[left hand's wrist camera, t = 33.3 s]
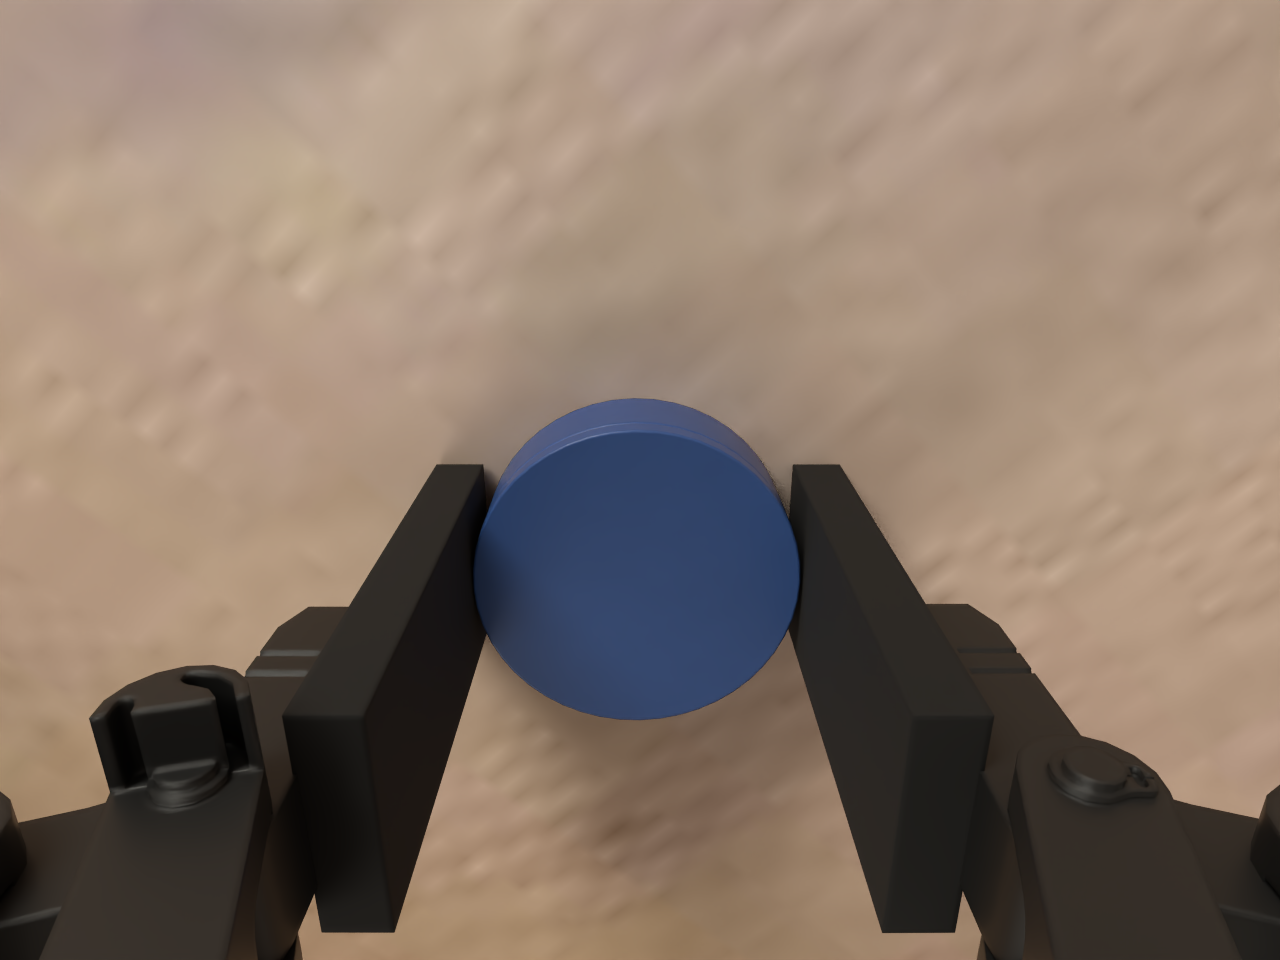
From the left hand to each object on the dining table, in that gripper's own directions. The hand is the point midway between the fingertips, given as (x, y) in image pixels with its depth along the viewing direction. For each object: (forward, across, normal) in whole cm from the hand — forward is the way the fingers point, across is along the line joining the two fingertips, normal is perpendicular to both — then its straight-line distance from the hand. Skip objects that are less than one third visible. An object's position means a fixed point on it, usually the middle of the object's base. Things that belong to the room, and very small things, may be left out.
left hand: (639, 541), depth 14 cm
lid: (-1, 0, 0) cm, 1 cm away
